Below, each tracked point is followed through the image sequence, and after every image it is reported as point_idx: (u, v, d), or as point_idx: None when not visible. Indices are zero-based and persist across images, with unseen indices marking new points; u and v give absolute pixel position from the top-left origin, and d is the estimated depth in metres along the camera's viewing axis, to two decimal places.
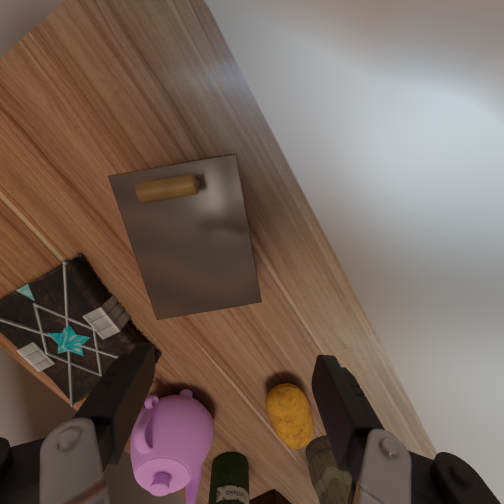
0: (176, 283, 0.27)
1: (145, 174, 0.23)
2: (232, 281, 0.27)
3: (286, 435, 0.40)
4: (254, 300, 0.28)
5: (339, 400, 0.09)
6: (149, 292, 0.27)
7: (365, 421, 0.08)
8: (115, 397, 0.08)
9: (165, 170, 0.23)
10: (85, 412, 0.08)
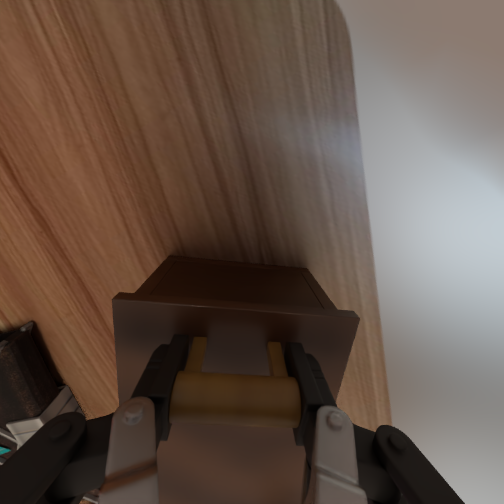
0: (178, 471, 0.16)
1: (186, 313, 0.12)
2: (271, 482, 0.16)
3: None
4: None
5: (298, 381, 0.10)
6: None
7: (318, 399, 0.09)
8: (165, 380, 0.09)
9: (226, 315, 0.12)
10: (140, 393, 0.09)
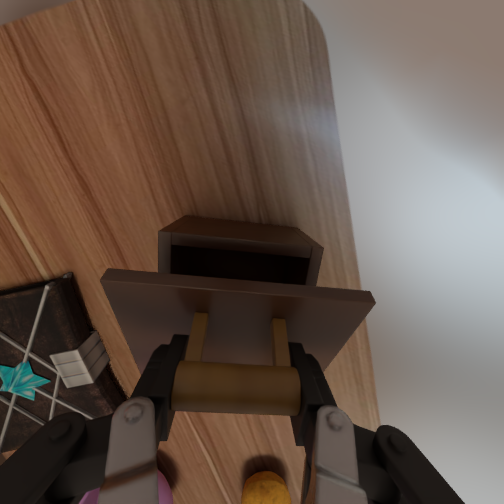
0: None
1: (184, 293, 0.11)
2: None
3: None
4: None
5: None
6: None
7: (318, 399, 0.09)
8: (165, 380, 0.09)
9: (227, 296, 0.11)
10: (139, 394, 0.09)
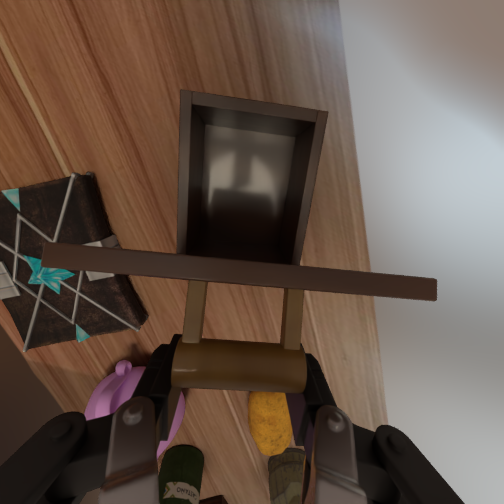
0: None
1: None
2: None
3: (264, 438, 0.36)
4: None
5: None
6: None
7: (318, 398, 0.09)
8: (166, 380, 0.09)
9: None
10: (140, 393, 0.09)
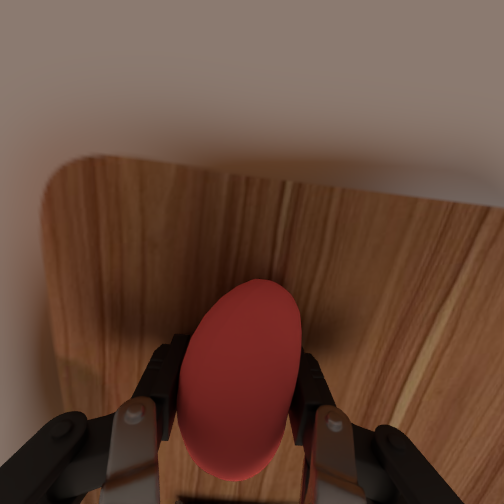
0: None
1: None
2: None
3: None
4: None
5: (297, 381, 0.10)
6: None
7: (317, 398, 0.09)
8: (166, 380, 0.09)
9: None
10: (141, 393, 0.09)
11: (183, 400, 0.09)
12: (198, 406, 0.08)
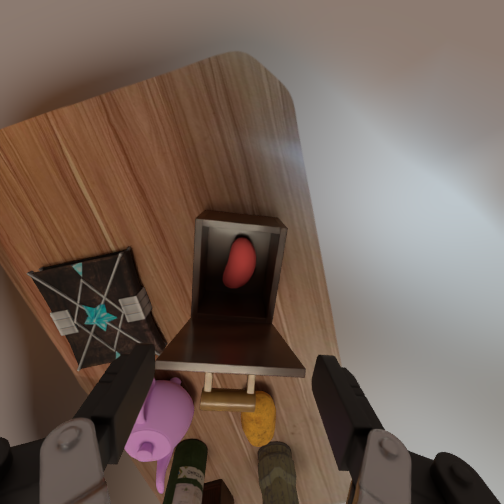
0: None
1: None
2: None
3: (253, 433, 0.48)
4: None
5: (339, 400, 0.09)
6: None
7: (365, 421, 0.08)
8: (115, 397, 0.08)
9: None
10: (85, 412, 0.08)
11: (250, 268, 0.39)
12: (253, 265, 0.39)
